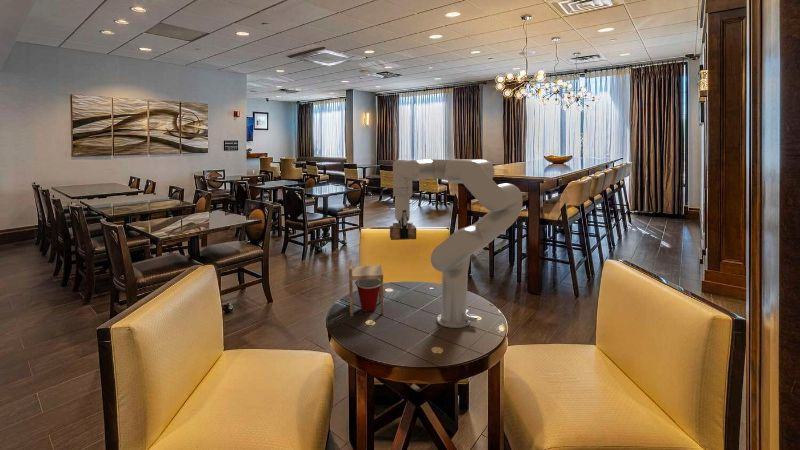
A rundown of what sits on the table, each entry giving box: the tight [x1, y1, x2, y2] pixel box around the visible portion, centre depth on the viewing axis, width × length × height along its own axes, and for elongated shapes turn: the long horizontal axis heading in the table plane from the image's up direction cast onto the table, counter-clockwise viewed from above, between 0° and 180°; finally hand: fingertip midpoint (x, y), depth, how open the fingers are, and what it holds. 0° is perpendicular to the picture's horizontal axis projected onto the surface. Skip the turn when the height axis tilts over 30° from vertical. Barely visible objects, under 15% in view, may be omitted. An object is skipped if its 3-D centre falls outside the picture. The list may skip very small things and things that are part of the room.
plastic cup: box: [354, 279, 381, 312], centre depth 174 cm, size 11×11×12 cm
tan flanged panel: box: [348, 259, 384, 317], centre depth 174 cm, size 13×13×20 cm
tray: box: [389, 222, 417, 241], centre depth 171 cm, size 10×6×6 cm, turn 97°
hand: (403, 236), depth 171 cm, fingers closed on tray, 6 cm apart
